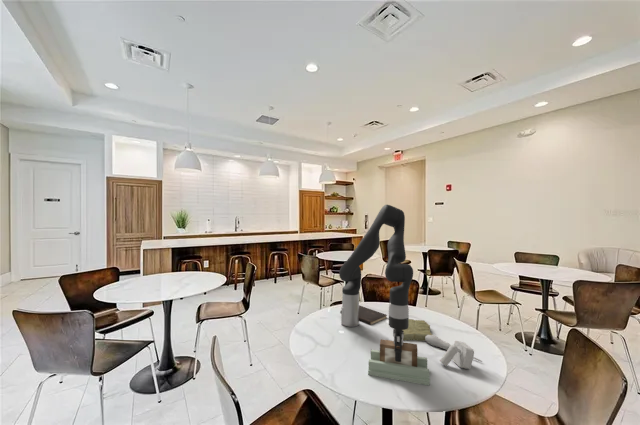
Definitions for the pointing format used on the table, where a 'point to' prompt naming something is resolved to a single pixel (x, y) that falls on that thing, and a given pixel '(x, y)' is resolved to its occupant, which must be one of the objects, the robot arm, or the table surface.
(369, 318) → the hardcover book
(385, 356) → the wooden picture frame
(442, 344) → the screwdriver
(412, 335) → the decorative tile
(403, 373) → the pale green channel holder
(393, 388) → the table surface
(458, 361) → the wall hook
